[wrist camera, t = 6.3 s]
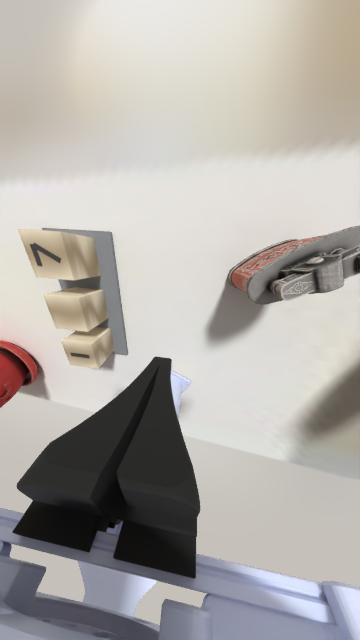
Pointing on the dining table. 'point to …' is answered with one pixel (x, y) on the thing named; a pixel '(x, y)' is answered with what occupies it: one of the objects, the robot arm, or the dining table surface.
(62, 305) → the plain block
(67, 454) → the robot arm
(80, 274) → the block seven
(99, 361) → the block one
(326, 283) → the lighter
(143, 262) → the dining table surface
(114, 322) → the felt strip
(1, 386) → the plant pot
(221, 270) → the dining table surface
